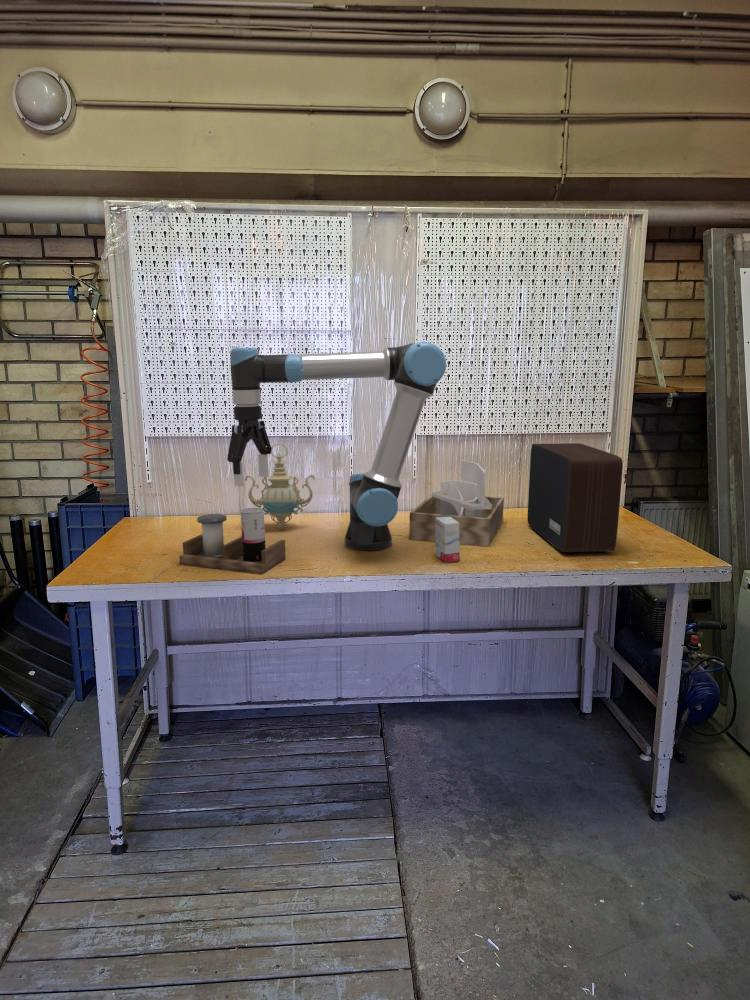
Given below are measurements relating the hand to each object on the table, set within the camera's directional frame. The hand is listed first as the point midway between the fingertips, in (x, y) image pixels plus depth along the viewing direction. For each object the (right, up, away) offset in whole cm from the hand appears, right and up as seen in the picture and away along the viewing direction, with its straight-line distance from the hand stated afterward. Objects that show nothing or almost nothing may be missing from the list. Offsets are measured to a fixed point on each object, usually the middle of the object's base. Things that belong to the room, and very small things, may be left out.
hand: (252, 481), depth 176 cm
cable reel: (-13, -22, +9) cm, 27 cm away
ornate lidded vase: (+2, -16, +42) cm, 45 cm away
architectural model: (+66, -17, +40) cm, 79 cm away
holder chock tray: (+64, -16, +40) cm, 77 cm away
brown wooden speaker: (+99, -19, +28) cm, 104 cm away
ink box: (+56, -23, +10) cm, 61 cm away
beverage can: (0, -23, +5) cm, 24 cm away
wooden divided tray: (-7, -23, +6) cm, 25 cm away
